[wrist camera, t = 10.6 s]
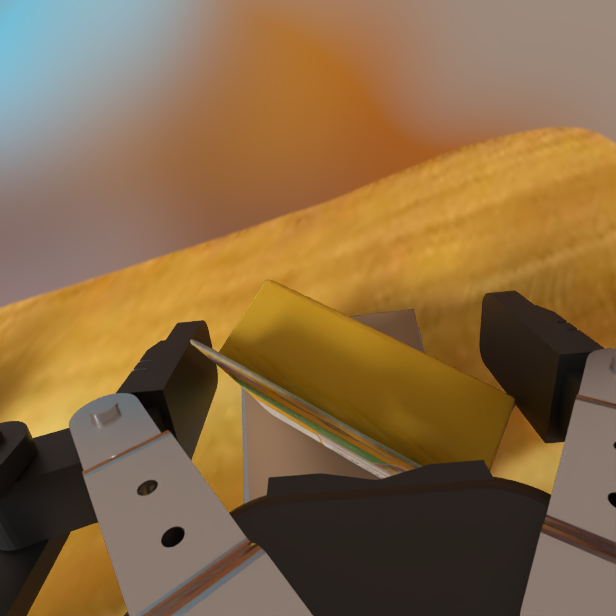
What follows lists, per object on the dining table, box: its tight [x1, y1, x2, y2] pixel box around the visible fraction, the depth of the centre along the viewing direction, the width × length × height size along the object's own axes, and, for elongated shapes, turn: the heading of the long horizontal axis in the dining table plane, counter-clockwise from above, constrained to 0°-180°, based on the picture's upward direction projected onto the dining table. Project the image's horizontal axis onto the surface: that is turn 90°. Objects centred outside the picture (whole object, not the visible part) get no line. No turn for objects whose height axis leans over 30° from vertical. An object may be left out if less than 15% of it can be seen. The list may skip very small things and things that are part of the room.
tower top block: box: [244, 309, 423, 501], centre depth 21 cm, size 9×10×4 cm
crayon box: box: [190, 280, 515, 479], centre depth 14 cm, size 7×3×12 cm, turn 61°
